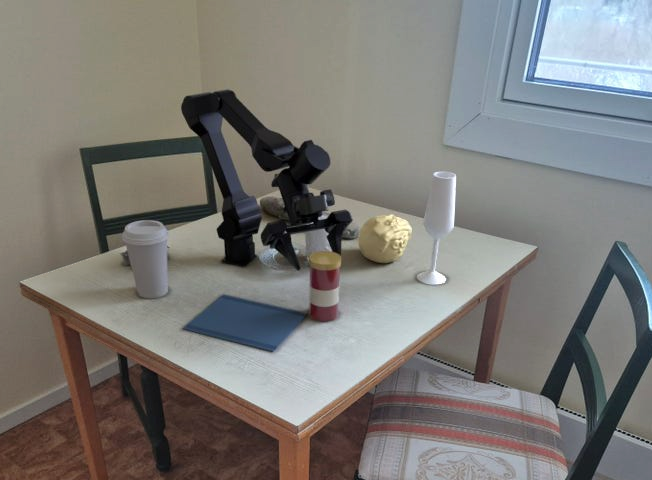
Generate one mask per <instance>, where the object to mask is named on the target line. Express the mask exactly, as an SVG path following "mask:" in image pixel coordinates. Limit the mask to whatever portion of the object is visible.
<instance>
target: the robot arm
mask: <svg viewBox="0 0 652 480" xmlns="http://www.w3.org/2000/svg"><path fill="white" fill-rule="evenodd" d="M180 111H181V114H182V116H183V119H184V120H185V122H186V124H187V126H188V128H189V129H190V130H191V131H192V132H193V133H195V134H196V135H197V136H198V137H199V138H200V140H201V144H202V146H203V148H204V151H205V153H206V156H207V159H208V162H209V164H210V167H211V171H212V172H213V175H214V177H215V180H216V183H217V185H218V188H219V191H220V193H221V196H222V200H223V201H222V207H221V216H222V219H223V220H222V222H221V223H220V224H219V225H218V226H217V227H216V233H217V236H218V237H217V238H218V239H221V240H223V247H224V257H223V258H222V259H221V262H222V263H224V264H230V265H233V266H235V265H236V266H239V267H247V266H248V265H249V264H250V263H252V262H253V261H254V260H255V259H256V258H257V257H258V256H257V254H256V243H255V241H254V235H257V234H259V230H260V226H261V223H262V220H263V219H262V218H263V217H262V215H261V213H262V210H261V209H260V206H259V204H258V200H257V198H256V196H255V195H252V196H251V195H250V196H249V195H248V194H247V193H246V192H245V191H244V188H243V186H242V183H241V180H240V177H239V175H238V172H237V169H236V166H235V164H234V162H233V159H232V156H231V154H230V151H229V148H228V145H227V143H226V140H225V137H224V134H223V131H222V125H223V119H224V120H225V121H226V122H227V123H228V124H229V125H230V126H231V127H232V128H233V130H234V131H236V133H237V134H238V135H240V137H241V138H242V139H243V140H244V141H245V142H246V143H247V144H248V145H249V147H250V148H251V149H250V150H251V155H252V157H253V159H254V160H255V162H256V163H257V165H258V166H259V167H260V169H261V170H262V171H264V172H266V173H269V172H270V173H271V172H275V171H279V170H281V171H280V172H279V173H275V174H274V175H273V176H274V177H273V179H272V181H271V185H270V186H271V187H272V188H278V190H279V193H280V196H281V198H282V199H283V202H284V205H285V207H284V208H283V210H284V213H287V214H288V217H289V220H288V221H289V223H290V224H287V221H286V220H284V219H279V220H275V221H269V222H266V225H265V226H264V227H263V230H262V231H261V233H260V240H261V244H262V246H263V247H268V246H269V248H270V250H273V249H274V250H275V251H277V252H278V253H279V254H280V255H281V256H282V257H283V258H284V259H285V260H286V261H288V263H289V264H290V265H291V266H292V267H293V268H294V269H295V270H296V271H297V272H299V271H301V264H300V261H299V258H298V256H297V253H296V250H295V248H294V245H293V242H292V235H296V234H302V233H305V232H309V231H314V230H320V229H325V231H326V232H327V233H329V234H328V235H327V236H326V237H327V240H328V242H329V245H330V247H331V250H332V252H335V253H337V254H339V255H340V256H341V257H342V239H343V237H342V233H343V231H344V230H345V229H346V228H347V227H348V225H349V224H350V223H351V222H354V220H353V216H352V214H351V212H350V210H349V211H348V210H347V209H341V210H334V211H331V212H330V213H329V214H330V215H329V216H328V217H327V218H326V219H322V220H319V219H318V218H319V217H321V216H322V215H323V213H322V211H323V212H328V211H329V207H332V206H335V204H336V200H335V199H336V198H335V196H334V193H333V191H332V189H331V188H330V189H324V190H322V191H319V195H315V194H314V193H313V192H310V190H309V187H308V185H312V184H313V183H314V182H316V181H317V180H318V178H320V177H321V176H322V174H324V173H325V172H326V171H327V170H328V169H329V168H330V166H331V157H330V154H329V153H328V151H327V150H325V149H324V148H323V147H322V146H320V145H318V144H315V143H314V141H313V140H312V139H308V140H305V141H302V143H301V145H300V147H297V146H295V145H294V144H293V142H291V140H290V139H288V138H287V137H285V136H284V135H282V134H281V133H280V132H277V131H274V130H271V129H269V128H268V127H266V126H265V125H264V123H262V122H261V121H260V120H259V118H257V117H256V115H254V114H253V113H252V112H251V111H250V109H248V108H247V106H246V105H244V104H243V102H242V101H241V100H239V98H238V97H237V95H236V93H235V91H233V90H231V89H229V88H228V89H222V90H216V91H212V92H210V91H208V92H201V93H195V94H190V95H186V96H184V98H183V100H182V103H181V105H180Z"/></svg>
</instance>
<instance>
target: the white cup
mask: <svg viewBox="0 0 652 480" xmlns="http://www.w3.org/2000/svg"><path fill="white" fill-rule="evenodd" d="M327 217H328V216H321V217H319V218H318V219H319V220H322V219H326V218H327ZM328 234H329V233H327V232H326V231H325V229H320V230H314V231H309V232H304V235H305V236H304V239H305V249H306V250H305V251H306V253H305V254H306V255H307V257H308V258H309V256H310V255H311V254H312V253H315V252H319V251H330V252H332V250H331V247H330V245H329V242H328V240H327V237H326V236H327V235H328ZM307 257H306V262H307V263H308V264H309V260H308V259H307Z"/></svg>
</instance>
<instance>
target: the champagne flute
mask: <svg viewBox="0 0 652 480" xmlns="http://www.w3.org/2000/svg"><path fill="white" fill-rule="evenodd" d="M432 174H433V175H432V180H431V184H430V189H429V192H428V198H427V202H426V208H425V213H424V217H423V220H422V226H423V229H424V231H425V232H426V233H427V234H428V235H429V237H431V239H433V243H432V249H431V250H432V251H431V257H430V258H431V259H430V265H429V270H426V271H423V272H420V273H418V274H417V276H416V279H417V280H418V281H419V282H420V283H423V284H426V285H432V286H433V285H435V286H436V285H441V284H444V283H446V281H447V278H446V276H445V275H443V274H442V273H440V272H438V271H436V265H437V258H438V250H439V243H440V240H442V239H443V238H444V237H446V236H447V235H449V234H450V233H451V231H452V230H453V229H454V226H455V211H456V210H455V209H456V186H457V175H456V174H455V173H454V172H451V171H435V172H434V173H432Z"/></svg>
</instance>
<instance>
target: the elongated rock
mask: <svg viewBox="0 0 652 480" xmlns="http://www.w3.org/2000/svg"><path fill="white" fill-rule="evenodd" d="M259 205H260V206H261V209H262V210H264V211H266V212H267V213H269V214H270V215H272V216H275V217H277V218H278V219H279V220H284V221H290V220H289V217H288V214H287V213H284V210H283V208H284V207H285V205H284V202H283V199H282V197H278V196H277V197H276V196H274V195H273V196H264V197H262V198H261V199H260V200H259ZM322 213H323V215H322V216H329V215H330V213H329V212H328V211H322ZM360 230H361V226H359V225H358V224H357V223H356V222H354V221H352V222H351V223H350V224H349V225H348V227H347V228H346V229H345V230H344V231H343V233H342V238H344V239H358V236H359V232H360Z"/></svg>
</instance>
